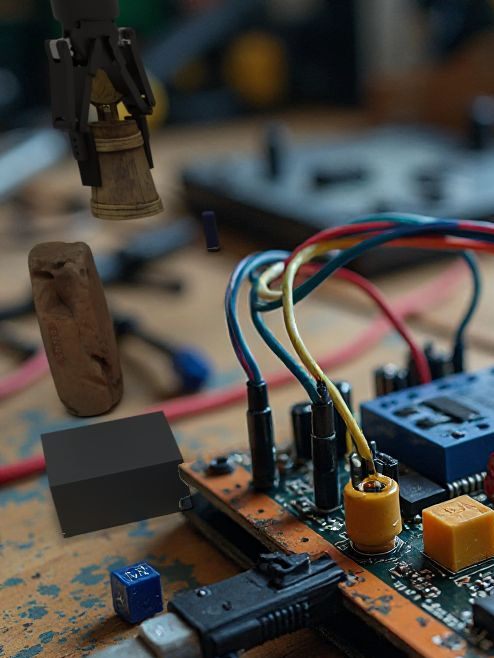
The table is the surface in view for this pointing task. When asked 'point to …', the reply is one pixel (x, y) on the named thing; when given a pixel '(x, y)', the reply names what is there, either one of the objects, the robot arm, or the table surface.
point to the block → (75, 327)
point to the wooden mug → (119, 160)
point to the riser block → (113, 472)
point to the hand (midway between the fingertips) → (119, 176)
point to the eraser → (210, 230)
